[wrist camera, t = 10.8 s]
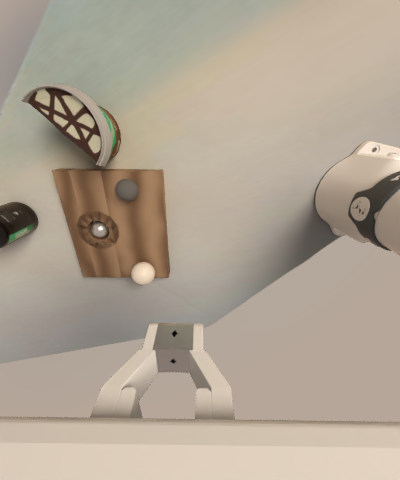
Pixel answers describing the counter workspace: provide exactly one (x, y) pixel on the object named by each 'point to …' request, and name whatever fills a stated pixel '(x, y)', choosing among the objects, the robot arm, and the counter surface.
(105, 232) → the steel ball
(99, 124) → the food container
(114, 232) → the board
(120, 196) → the gray rubber ball
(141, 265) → the cream plastic ball
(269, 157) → the counter surface
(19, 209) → the supplement bottle
